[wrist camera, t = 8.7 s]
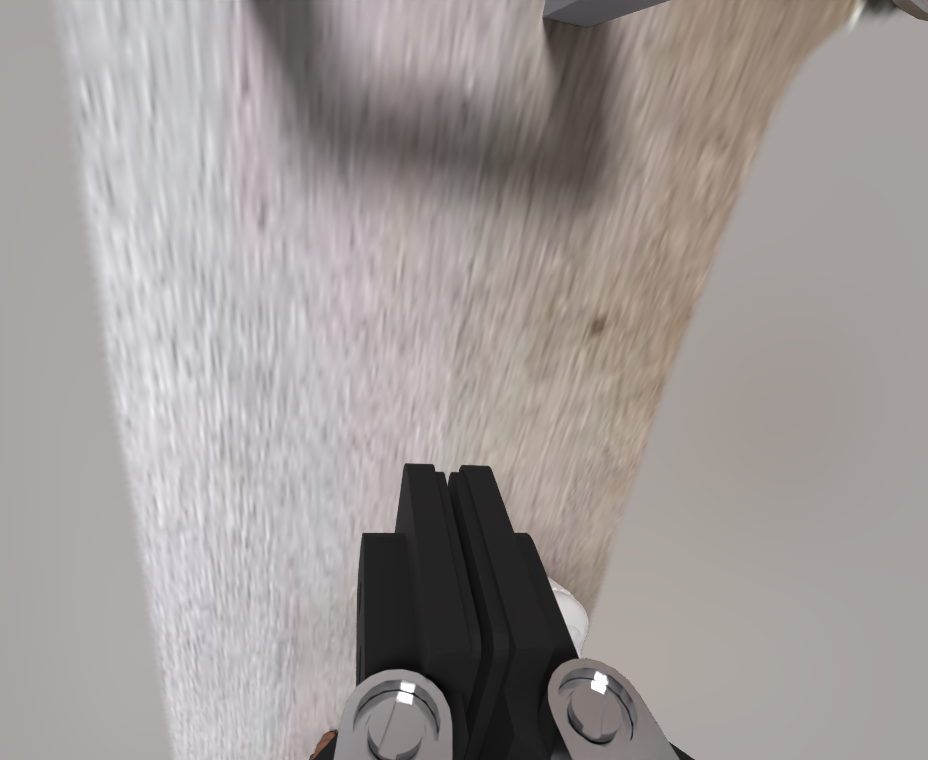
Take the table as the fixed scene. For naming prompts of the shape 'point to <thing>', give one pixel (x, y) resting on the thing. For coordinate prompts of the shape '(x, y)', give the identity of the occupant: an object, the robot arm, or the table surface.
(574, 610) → the muffin
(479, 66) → the table surface
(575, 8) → the bridge
